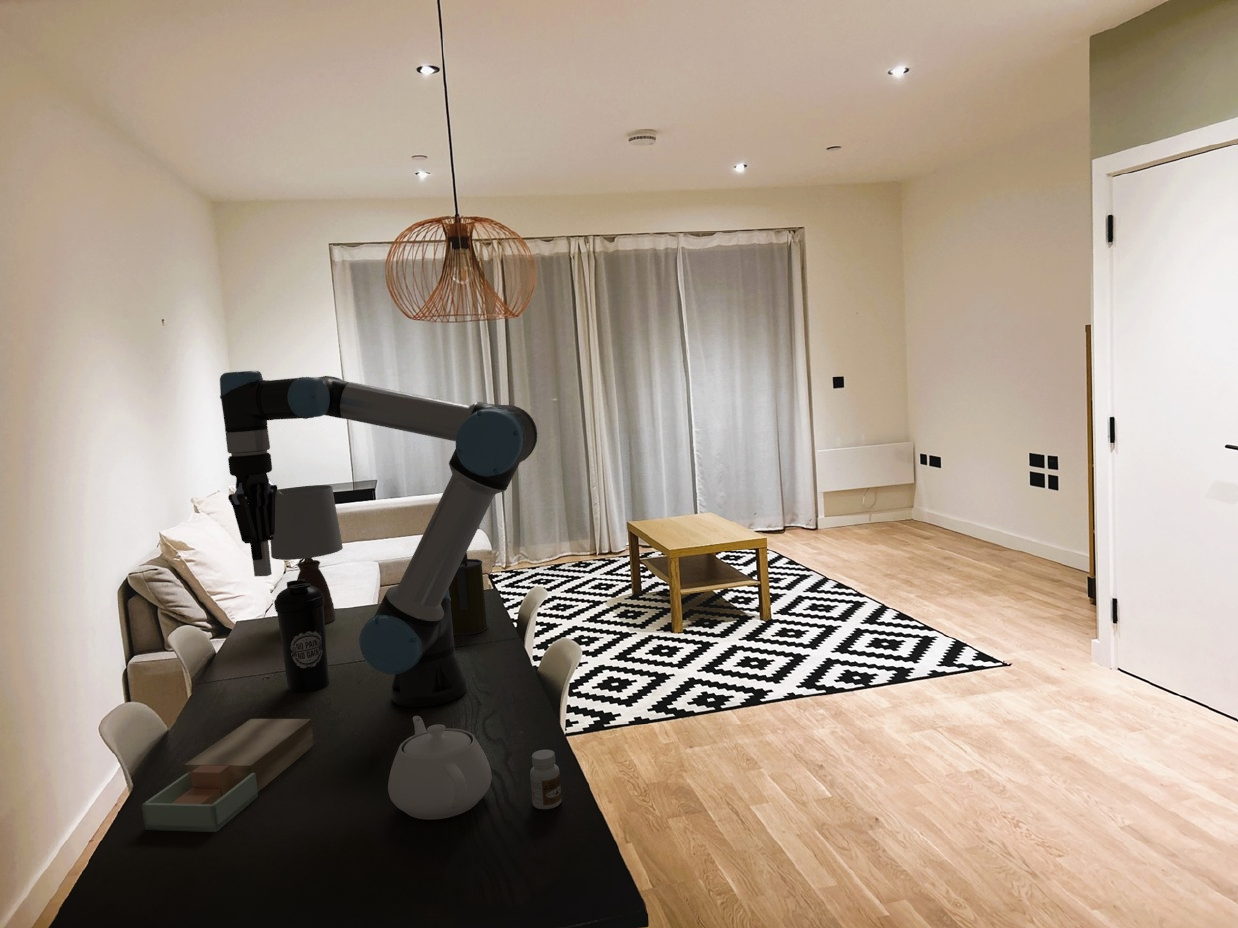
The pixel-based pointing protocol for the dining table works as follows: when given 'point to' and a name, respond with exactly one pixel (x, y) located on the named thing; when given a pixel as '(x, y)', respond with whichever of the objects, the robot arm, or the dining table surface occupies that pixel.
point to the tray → (196, 807)
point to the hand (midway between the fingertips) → (263, 575)
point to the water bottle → (303, 636)
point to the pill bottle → (545, 780)
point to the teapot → (438, 772)
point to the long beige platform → (258, 749)
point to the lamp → (307, 534)
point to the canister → (468, 598)
